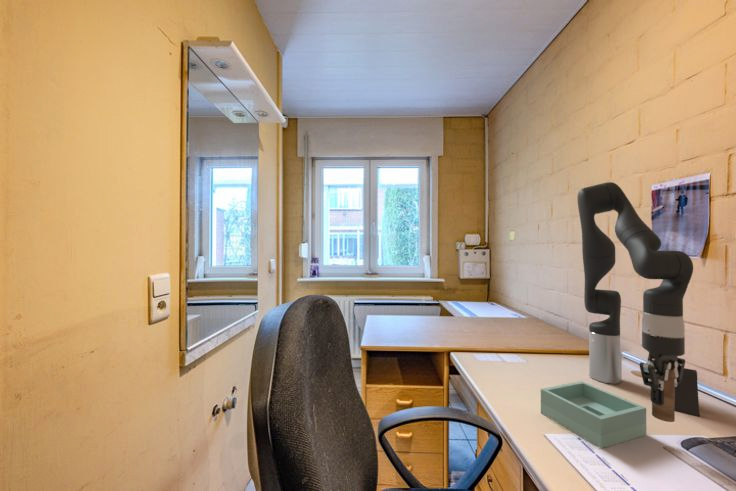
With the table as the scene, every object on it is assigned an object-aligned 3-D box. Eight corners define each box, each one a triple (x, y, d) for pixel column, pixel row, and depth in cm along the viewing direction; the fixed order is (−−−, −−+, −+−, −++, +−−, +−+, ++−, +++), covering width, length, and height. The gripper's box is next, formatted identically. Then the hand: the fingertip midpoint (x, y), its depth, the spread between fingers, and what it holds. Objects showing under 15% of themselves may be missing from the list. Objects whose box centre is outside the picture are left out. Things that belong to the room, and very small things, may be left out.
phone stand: (699, 417, 88) (699, 375, 88) (670, 409, 92) (670, 370, 92) (694, 405, 95) (694, 366, 95) (667, 398, 99) (667, 361, 99)
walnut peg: (658, 411, 77) (657, 364, 77) (678, 420, 73) (678, 370, 73) (648, 414, 76) (647, 366, 76) (668, 423, 72) (668, 372, 72)
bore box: (581, 403, 96) (581, 381, 96) (646, 434, 79) (646, 407, 80) (540, 412, 90) (540, 388, 90) (601, 448, 74) (601, 419, 74)
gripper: (661, 325, 81) (661, 390, 80) (626, 330, 76) (626, 399, 76) (700, 333, 73) (700, 404, 73) (663, 339, 69) (664, 415, 69)
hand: (662, 401), depth 75 cm, fingers closed on walnut peg, 4 cm apart
